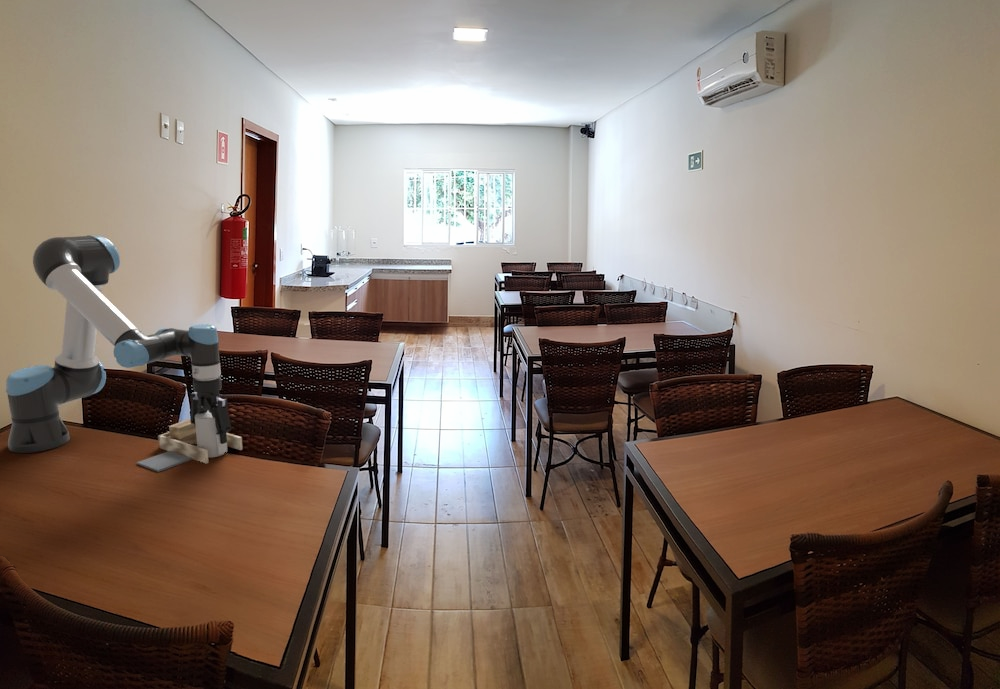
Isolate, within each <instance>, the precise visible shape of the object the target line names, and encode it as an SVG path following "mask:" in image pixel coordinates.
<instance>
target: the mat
mask: <svg viewBox="0 0 1000 689" xmlns="http://www.w3.org/2000/svg"><path fill="white" fill-rule="evenodd" d="M191 460H192V459H191V458H190V457H187V456H184V455H181V454H178V453H175V452H172V451H166V452H162V453H159V454H157V455H154V456H151V457H148V458H146V459H142V460H139V461H136V464H137V465H138V466H141V467H144V468H146V469H149V470H152V471H155V472H157V473H161V472H163V471H165V470H169V469H170V468H173V467H176V466H178V465H182V464H184V463H186V462H189V461H191Z"/></svg>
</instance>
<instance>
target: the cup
mask: <svg viewBox="0 0 1000 689" xmlns="http://www.w3.org/2000/svg"><path fill="white" fill-rule="evenodd" d="M194 419H195V425H196V437H197V443H196V446H197V447H200V448H203V449H206V450H207V451H208V459H209V458H210V459H211V458H217V457H221V456H223V455H225V454H224V453H222V454H220V455H219V454H218V452H217V440H216V433H218V431H217V428H216V425H215V418H213V417H212V414H211V413H210V412H209V410H207V412H205V413H201V414H199V413H197V414H196V415H195V418H194ZM228 451H229V450H228V449H227V452H228Z"/></svg>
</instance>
